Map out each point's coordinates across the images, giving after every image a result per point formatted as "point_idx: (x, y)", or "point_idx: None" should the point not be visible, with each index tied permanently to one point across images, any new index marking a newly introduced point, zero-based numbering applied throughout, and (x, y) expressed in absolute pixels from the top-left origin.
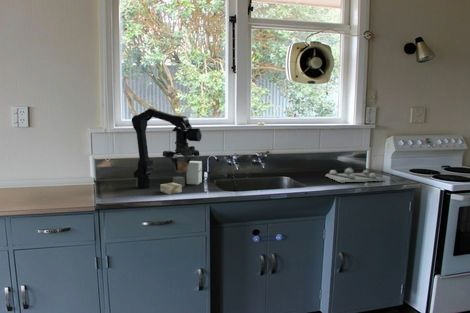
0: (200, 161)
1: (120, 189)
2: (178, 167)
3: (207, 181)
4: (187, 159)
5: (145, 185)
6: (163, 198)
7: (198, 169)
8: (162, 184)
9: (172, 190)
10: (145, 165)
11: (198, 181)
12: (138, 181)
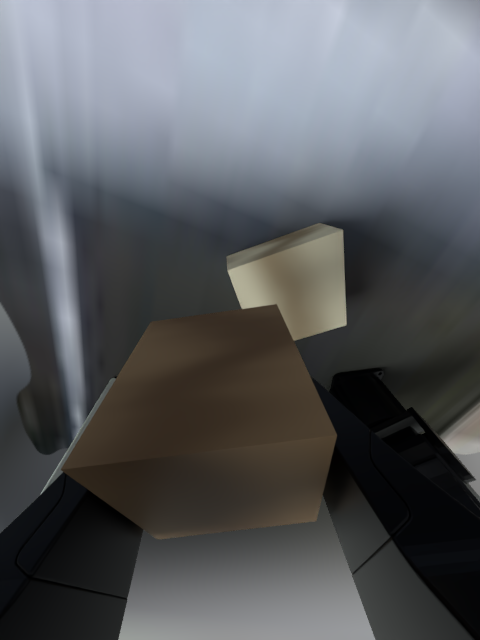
0: None
1: (435, 377)
2: (298, 359)
3: (68, 413)
4: (10, 626)
5: (356, 383)
6: (426, 76)
7: (61, 461)
8: (336, 322)
9: (299, 235)
10: (464, 488)
11: (104, 390)
12: (395, 400)
